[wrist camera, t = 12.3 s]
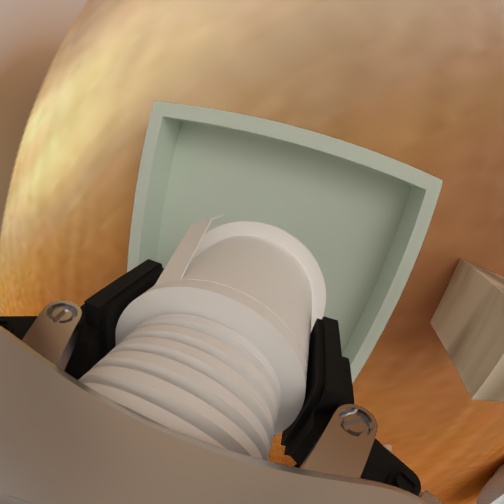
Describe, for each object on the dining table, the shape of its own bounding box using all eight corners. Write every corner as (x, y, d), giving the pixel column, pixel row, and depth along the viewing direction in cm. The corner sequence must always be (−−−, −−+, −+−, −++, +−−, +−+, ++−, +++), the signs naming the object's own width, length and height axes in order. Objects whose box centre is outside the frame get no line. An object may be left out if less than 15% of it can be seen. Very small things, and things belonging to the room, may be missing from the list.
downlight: (341, 348, 13) (343, 542, 4) (215, 369, 15) (130, 516, 6) (298, 188, 12) (232, 238, 3) (159, 234, 14) (-19, 320, 4)
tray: (422, 177, 15) (443, 180, 12) (335, 380, 20) (336, 408, 17) (177, 108, 16) (153, 101, 14) (144, 317, 22) (124, 336, 19)
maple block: (504, 277, 15) (565, 331, 7) (474, 335, 17) (518, 402, 9) (460, 257, 15) (526, 313, 8) (429, 322, 17) (471, 399, 10)
